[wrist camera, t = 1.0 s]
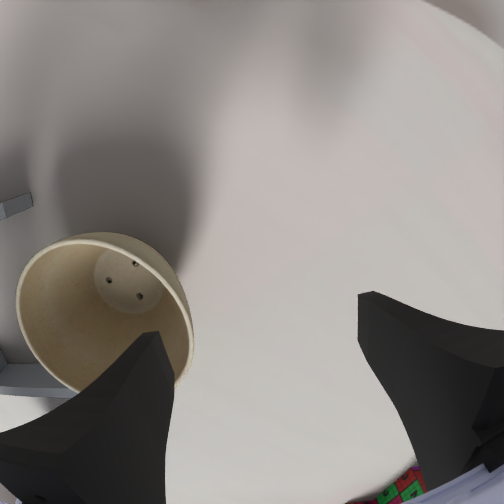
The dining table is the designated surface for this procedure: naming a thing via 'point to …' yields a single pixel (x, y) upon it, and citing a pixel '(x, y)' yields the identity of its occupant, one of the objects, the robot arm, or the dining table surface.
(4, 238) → the dining table surface
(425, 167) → the dining table surface
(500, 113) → the dining table surface
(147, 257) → the flower pot
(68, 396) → the bracket
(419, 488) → the puzzle
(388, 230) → the dining table surface
